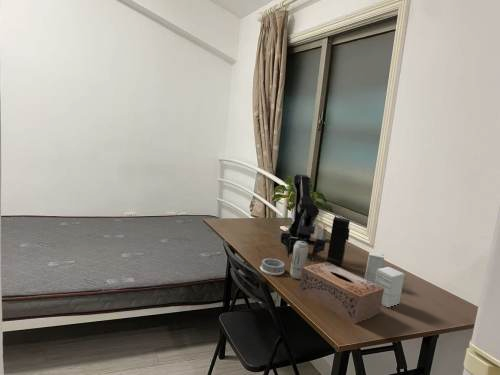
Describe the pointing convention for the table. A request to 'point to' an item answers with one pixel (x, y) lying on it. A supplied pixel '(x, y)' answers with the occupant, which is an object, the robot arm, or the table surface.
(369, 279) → the skincare box
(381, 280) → the supplement box
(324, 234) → the architectural model on board
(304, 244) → the energy drink can
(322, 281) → the tissue box cover
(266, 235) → the table surface
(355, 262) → the table surface
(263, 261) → the dock
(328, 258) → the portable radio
